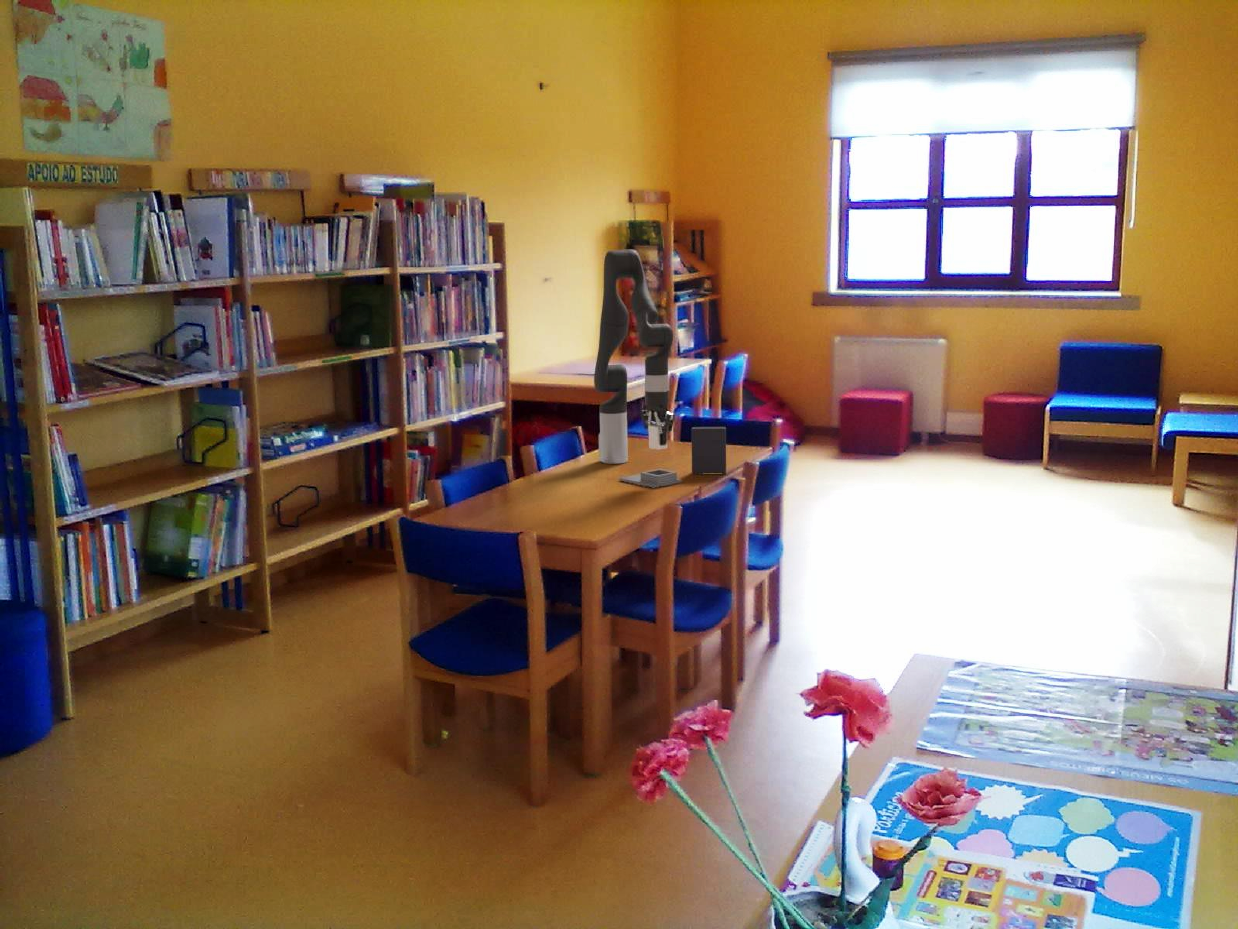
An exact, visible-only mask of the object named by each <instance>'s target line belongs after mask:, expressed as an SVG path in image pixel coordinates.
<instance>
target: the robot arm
mask: <svg viewBox="0 0 1238 929" xmlns="http://www.w3.org/2000/svg"><path fill="white" fill-rule="evenodd" d="M642 263H643V262H642V259H641V258H640V255H639V253H638V251H637V250H635V249H632V248H631V249H629V248H628V249H627V248H626V249H617V250H615V249H614V250H609V251H608V252H606V254H605V256H604V259H603V295H602V296H603V297H602V306H601V314H600V324H599V338H598V339H599V340H598V350H597V357H596V361H595V367H594V376H593V383H594V384H593V385H594V388H595V391H597V392H598V393H606V394H607V393H614V395H613V396H612V397H611V398H610V399H608V400H605V401H603V402H601V403H600V404H599V430H600V431H599V433H598V461H600V462H601V463H602V462H603V463H602V464H609V465H610V464H611V465H613V464H614V465H615V464H617V465H618V464H625V463H627V462H628V461H629V459H628V456H629V454H628V418H627V417H628V416H627V415H628V412H627V411H628V410H627V406H628V400H627V398H628V371H627V368H626V366H625V365H624V364H609V363H610V361H611V358H612V356H613V355H614V353H615V351H616V350H617V349H618V348H619V347H620V345H622V343H623V342H624V340H625V339H626V337H627V335H628V330H629V320H630V313H629V311H628V308H627V307H626V305H625V303H624V302H623V300H622V299H621V297H620V295H619V292H618V291H617V290H618V289H617V282H618V280H628V279H633V282H634V287H633V290H632V293H631V296H630V308H631V311H632V313H633V315H634V318H635V319H636V320H635V321H636V324H637V331H638V332H637V333H638V336H637V337H638V341H639V343H640V344H641V345H642V346H643V347H644V348H657V351H656V352H655V353H652V354H649V355H647V356H646V357H645V359H644V372H645V373H644V374H645V376H644V403H645V405H646V409H641V410H640V412H639V413H640V417H641V421H642V426H643V429H644V430H647V432H649V426H652V425H655V423H657V426H658V427H659V431H660V445H666V443H667V444H668V433H669V432H672V430H673V426H674V423H675V419H676V418H675V416H676V414H675V413H674V412H673V413H671V412H670V411H669V408H668V405H670V378H669V358H670V354H671V349H672V344H673V341H674V331H673V329H672V327H671V325H670V324H668V323H658V320H660V319H659V318H660V317H659V316H660V315H659V312H658V310H657V308H656V305H655V303H654V301H653V299H652V296H651V294H650V290H649V287H648V282H647V278H646V274H645V270H644V266H643V264H642ZM662 426H664V429H663V427H662Z"/></svg>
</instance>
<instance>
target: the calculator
mask: <svg viewBox="0 0 1238 929" xmlns="http://www.w3.org/2000/svg"><path fill="white" fill-rule="evenodd" d="M690 432H691V433H690V434H691V474H692V475H704V474H703V473H722V474H721V475H726V474H727V428H726V426H698V427H697V426H694V427H693V426H692V428H691V430H690Z"/></svg>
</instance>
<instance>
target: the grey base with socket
mask: <svg viewBox="0 0 1238 929" xmlns="http://www.w3.org/2000/svg"><path fill="white" fill-rule="evenodd" d="M677 473H678V472H677V471H672V470H665V469H661V468H657V469H652V470H648V471H642V472H640V473H637V474H632V475H629V476H628V475H627V476H622V477H618V478H619V479H618V481H619V480H620V481H619V482H621V481H624V482H623V483H626V482H629V483H628V484H631V483H635V484H639V485H638V486H640V485H643V486H642V487H645V486H649V487H652V488H651V489H656V488H655V487H657V488H660V487H659V486H662V487H666V486H671V485H676V483H677V484H679V483H680V484H682V478H678V474H677ZM635 484H634V485H635ZM649 487H648V488H649Z"/></svg>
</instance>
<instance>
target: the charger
mask: <svg viewBox="0 0 1238 929" xmlns="http://www.w3.org/2000/svg"><path fill="white" fill-rule="evenodd" d="M662 427H663V429H664V426H662ZM648 448H649V449H653V450H663V449H668V442H667V443H666V445H660V431H659V427H658V426H657V423H655V425H652V426H649V431H648Z"/></svg>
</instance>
